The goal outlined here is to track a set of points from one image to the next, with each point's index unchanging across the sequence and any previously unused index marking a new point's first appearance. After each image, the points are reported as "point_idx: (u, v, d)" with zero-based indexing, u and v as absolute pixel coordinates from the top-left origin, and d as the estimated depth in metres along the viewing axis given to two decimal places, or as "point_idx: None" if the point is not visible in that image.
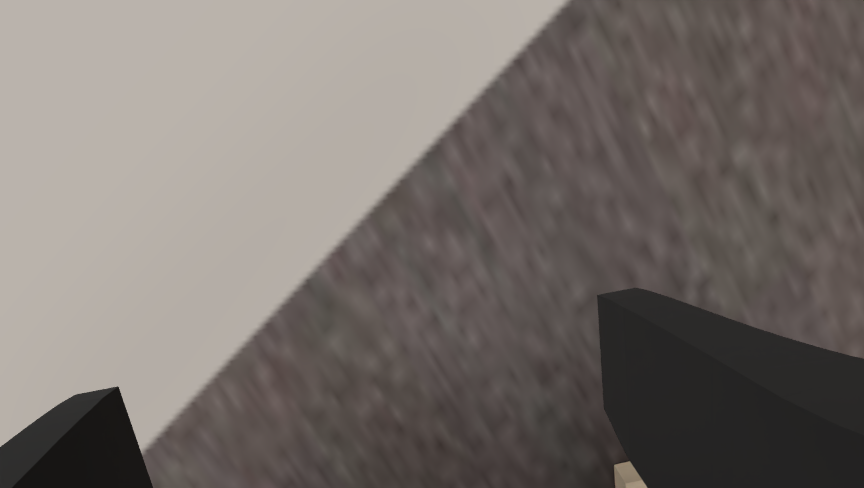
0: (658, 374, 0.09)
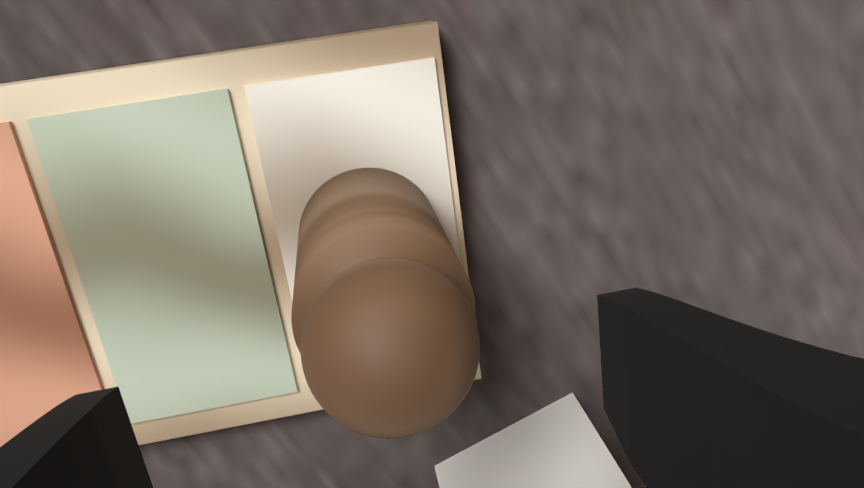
0: (658, 374, 0.09)
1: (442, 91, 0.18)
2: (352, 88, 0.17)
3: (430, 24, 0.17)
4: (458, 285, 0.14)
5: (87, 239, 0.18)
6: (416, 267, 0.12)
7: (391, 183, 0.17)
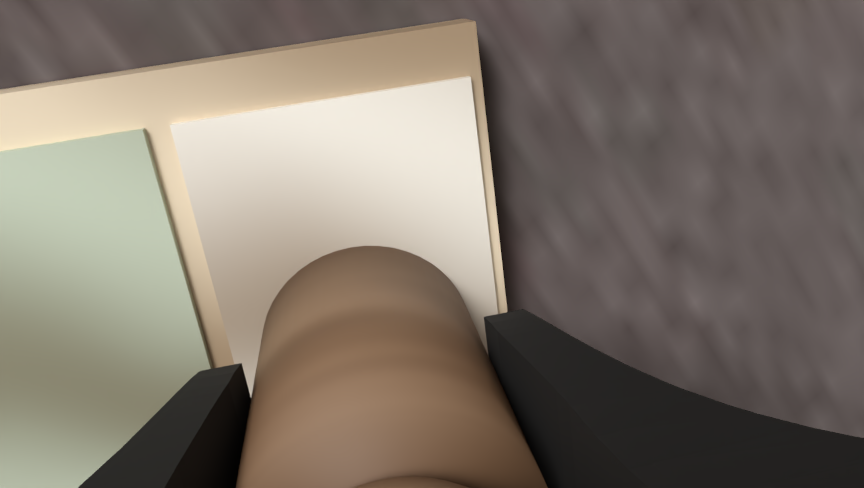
0: (524, 401, 0.09)
1: (482, 128, 0.11)
2: (341, 124, 0.11)
3: (464, 24, 0.11)
4: None
5: None
6: None
7: (403, 279, 0.10)
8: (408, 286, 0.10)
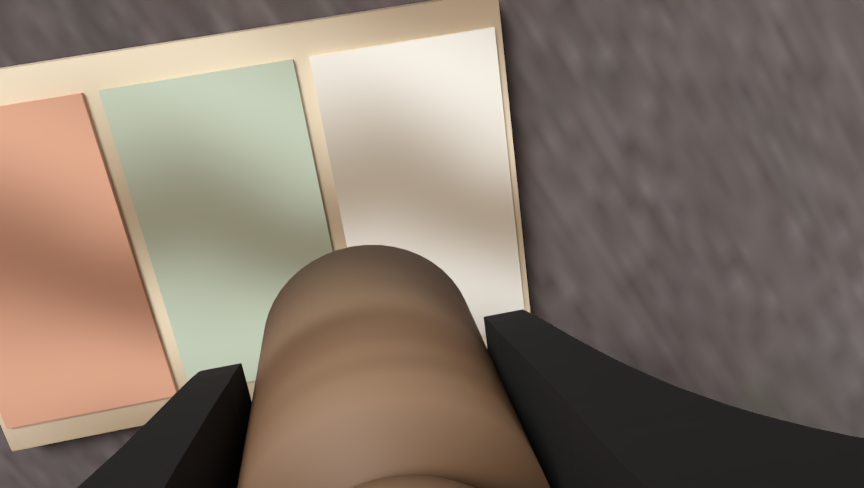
0: (524, 401, 0.09)
1: (501, 61, 0.18)
2: (413, 58, 0.18)
3: None
4: None
5: (154, 209, 0.18)
6: None
7: (405, 278, 0.10)
8: (410, 285, 0.10)
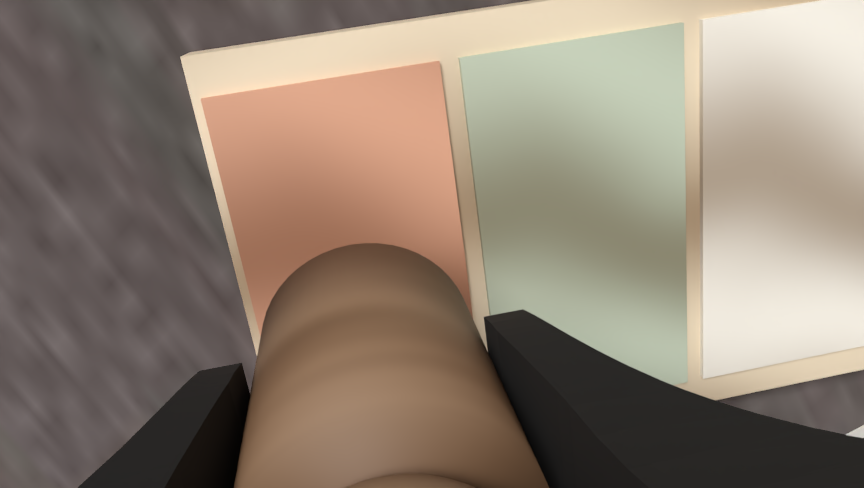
0: (524, 401, 0.09)
1: None
2: (813, 22, 0.15)
3: None
4: None
5: (495, 203, 0.15)
6: None
7: (403, 277, 0.10)
8: (408, 283, 0.10)
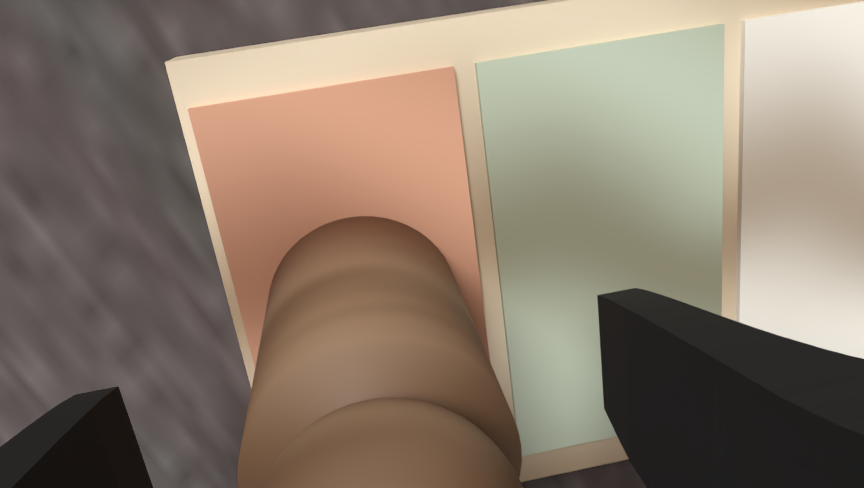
0: (658, 374, 0.09)
1: None
2: None
3: None
4: (496, 425, 0.09)
5: (514, 223, 0.14)
6: (432, 429, 0.07)
7: (394, 244, 0.12)
8: (398, 250, 0.12)
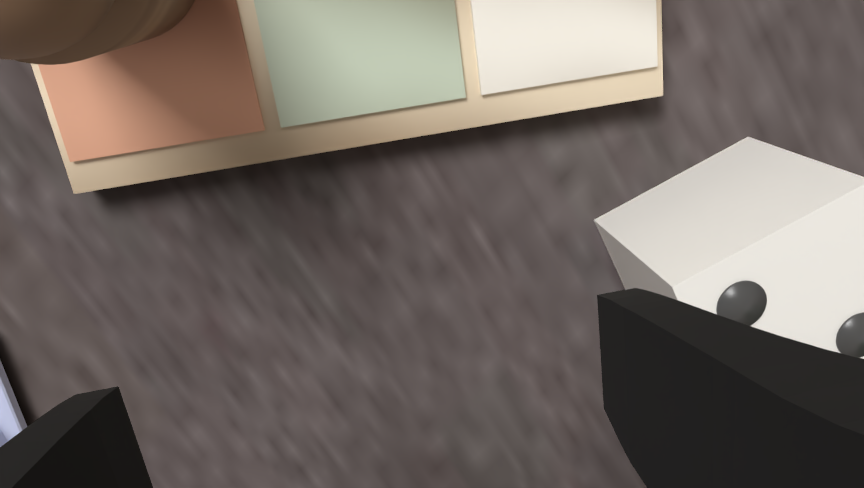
0: (658, 374, 0.09)
1: None
2: None
3: None
4: None
5: None
6: None
7: None
8: None
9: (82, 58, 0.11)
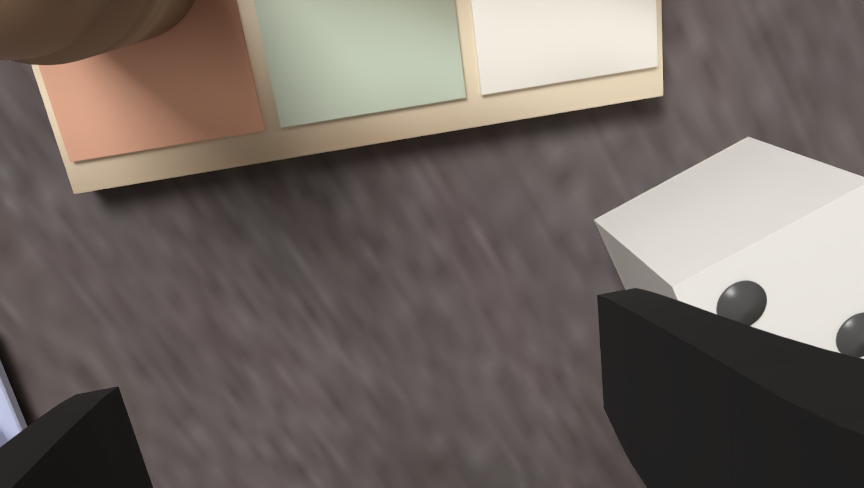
0: (658, 374, 0.09)
1: None
2: None
3: None
4: None
5: None
6: None
7: None
8: None
9: (78, 59, 0.11)
